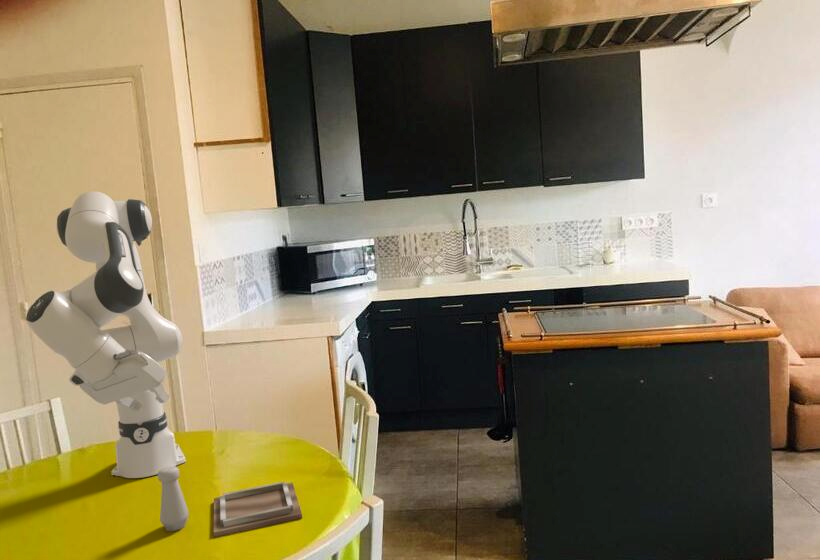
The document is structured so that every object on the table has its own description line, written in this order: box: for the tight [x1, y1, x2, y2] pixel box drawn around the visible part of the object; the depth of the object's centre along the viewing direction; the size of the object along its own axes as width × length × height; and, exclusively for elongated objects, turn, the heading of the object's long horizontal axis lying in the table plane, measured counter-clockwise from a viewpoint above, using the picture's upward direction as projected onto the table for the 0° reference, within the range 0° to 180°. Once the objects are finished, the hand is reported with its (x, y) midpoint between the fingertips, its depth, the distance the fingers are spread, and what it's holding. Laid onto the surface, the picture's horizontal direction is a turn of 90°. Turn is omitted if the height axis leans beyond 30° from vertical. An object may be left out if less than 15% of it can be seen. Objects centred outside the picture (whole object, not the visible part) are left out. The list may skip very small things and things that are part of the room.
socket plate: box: [213, 481, 303, 538], centre depth 149 cm, size 18×18×2 cm
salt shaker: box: [157, 466, 189, 532], centre depth 144 cm, size 6×6×13 cm
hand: (151, 404), depth 139 cm, fingers open, 8 cm apart
